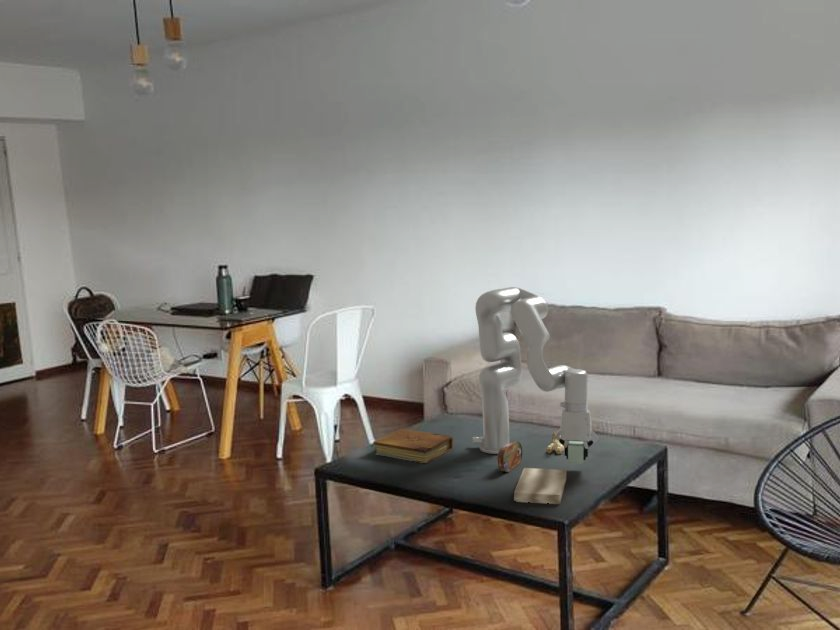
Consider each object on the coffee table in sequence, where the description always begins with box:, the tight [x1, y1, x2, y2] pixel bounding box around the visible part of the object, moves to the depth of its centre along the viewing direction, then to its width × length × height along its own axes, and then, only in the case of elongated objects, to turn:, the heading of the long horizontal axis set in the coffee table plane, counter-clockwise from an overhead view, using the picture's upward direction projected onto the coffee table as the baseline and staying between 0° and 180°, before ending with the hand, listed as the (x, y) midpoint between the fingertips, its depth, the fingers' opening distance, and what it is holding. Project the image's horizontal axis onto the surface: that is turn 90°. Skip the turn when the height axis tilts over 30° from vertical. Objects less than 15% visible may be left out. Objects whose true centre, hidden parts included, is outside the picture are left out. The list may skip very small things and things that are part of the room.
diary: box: [373, 428, 454, 464], centre depth 304 cm, size 23×19×6 cm
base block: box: [513, 467, 567, 505], centre depth 261 cm, size 14×22×3 cm, turn 165°
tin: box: [497, 441, 523, 473], centre depth 282 cm, size 15×3×8 cm, turn 148°
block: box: [567, 441, 585, 465], centre depth 276 cm, size 5×5×6 cm
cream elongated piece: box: [545, 429, 565, 455], centre depth 305 cm, size 10×9×25 cm
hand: (576, 457), depth 276 cm, fingers closed on block, 5 cm apart
